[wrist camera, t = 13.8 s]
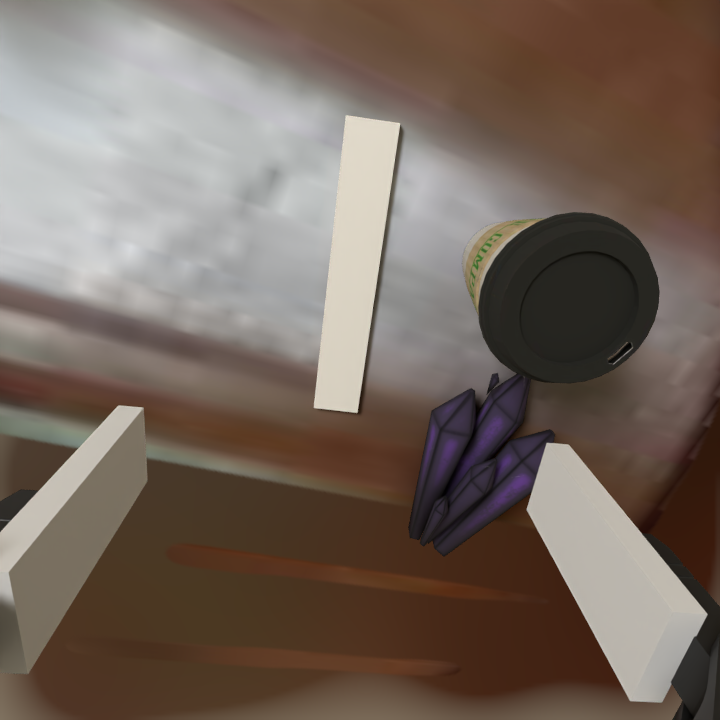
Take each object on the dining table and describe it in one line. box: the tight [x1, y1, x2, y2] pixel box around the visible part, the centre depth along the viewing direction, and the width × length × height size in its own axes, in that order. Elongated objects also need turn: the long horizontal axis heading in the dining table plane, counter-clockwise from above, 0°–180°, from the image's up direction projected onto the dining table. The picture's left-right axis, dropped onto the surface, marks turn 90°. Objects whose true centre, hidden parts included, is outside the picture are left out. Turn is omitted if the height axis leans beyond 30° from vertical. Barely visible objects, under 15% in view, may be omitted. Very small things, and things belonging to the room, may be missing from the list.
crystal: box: [408, 373, 555, 556], centre depth 44 cm, size 7×12×20 cm
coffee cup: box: [462, 212, 659, 383], centre depth 33 cm, size 10×10×15 cm
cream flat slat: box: [314, 115, 400, 413], centre depth 40 cm, size 4×24×1 cm, turn 172°
